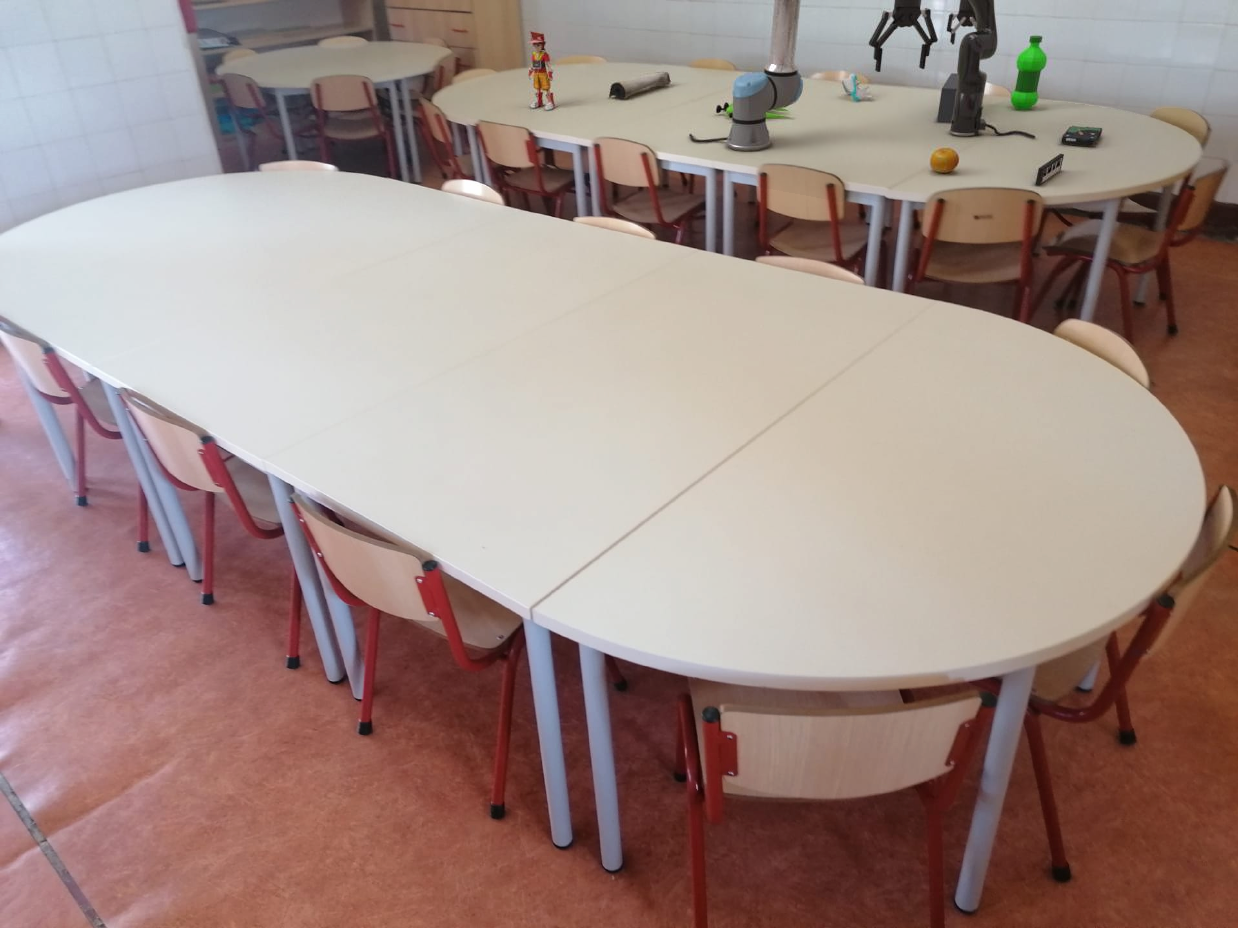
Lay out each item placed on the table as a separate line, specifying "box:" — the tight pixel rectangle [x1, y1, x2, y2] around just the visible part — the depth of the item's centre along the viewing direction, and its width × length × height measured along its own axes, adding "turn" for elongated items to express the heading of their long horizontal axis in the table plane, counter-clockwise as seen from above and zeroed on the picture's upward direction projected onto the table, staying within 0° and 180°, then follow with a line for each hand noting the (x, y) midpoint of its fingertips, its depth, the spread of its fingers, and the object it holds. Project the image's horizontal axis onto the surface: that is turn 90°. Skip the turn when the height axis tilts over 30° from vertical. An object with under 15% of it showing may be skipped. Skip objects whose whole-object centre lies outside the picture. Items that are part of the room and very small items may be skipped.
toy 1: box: [527, 31, 556, 111], centre depth 374 cm, size 12×9×30 cm
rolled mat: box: [608, 71, 672, 101], centre depth 395 cm, size 30×9×10 cm
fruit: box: [929, 147, 960, 174], centre depth 283 cm, size 8×8×8 cm
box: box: [936, 72, 958, 124], centre depth 337 cm, size 25×6×12 cm, turn 155°
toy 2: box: [715, 101, 793, 119], centre depth 353 cm, size 28×5×30 cm
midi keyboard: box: [1035, 153, 1065, 186], centre depth 273 cm, size 18×1×5 cm, turn 138°
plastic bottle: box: [1010, 35, 1048, 111], centre depth 335 cm, size 10×10×25 cm
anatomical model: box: [841, 72, 874, 102], centre depth 366 cm, size 15×10×10 cm
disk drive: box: [1060, 125, 1103, 147], centre depth 304 cm, size 10×3×15 cm
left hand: (899, 70), depth 273 cm, fingers open, 13 cm apart
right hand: (965, 44), depth 334 cm, fingers open, 8 cm apart
